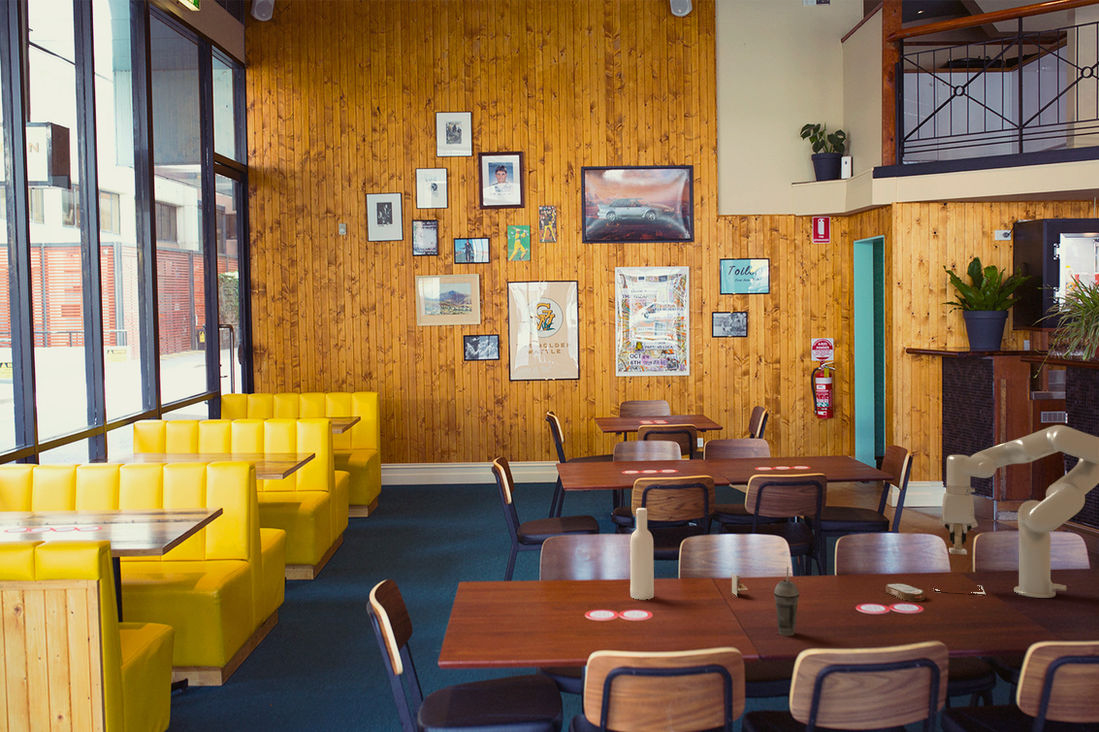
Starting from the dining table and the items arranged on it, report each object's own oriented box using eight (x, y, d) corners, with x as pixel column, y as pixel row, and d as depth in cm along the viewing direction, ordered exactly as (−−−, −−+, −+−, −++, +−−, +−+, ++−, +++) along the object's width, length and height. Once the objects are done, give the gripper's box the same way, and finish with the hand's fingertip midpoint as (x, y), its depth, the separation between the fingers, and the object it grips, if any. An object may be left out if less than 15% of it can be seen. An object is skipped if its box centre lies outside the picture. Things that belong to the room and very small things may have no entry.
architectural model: (741, 594, 322) (741, 572, 321) (747, 599, 315) (747, 577, 315) (731, 594, 321) (731, 573, 321) (737, 600, 314) (737, 578, 314)
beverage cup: (795, 629, 279) (795, 562, 279) (802, 637, 272) (802, 568, 271) (771, 629, 279) (770, 563, 278) (777, 637, 271) (777, 568, 271)
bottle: (645, 601, 311) (645, 511, 311) (625, 597, 316) (625, 509, 316) (658, 596, 318) (657, 508, 317) (638, 592, 323) (638, 506, 322)
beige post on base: (964, 552, 327) (964, 519, 328) (966, 554, 319) (966, 521, 320) (949, 551, 328) (949, 519, 329) (950, 553, 321) (950, 520, 322)
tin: (900, 589, 325) (880, 592, 323) (900, 580, 325) (879, 583, 323) (930, 600, 311) (908, 604, 308) (929, 590, 311) (908, 594, 308)
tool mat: (981, 587, 327) (981, 585, 327) (985, 595, 316) (985, 594, 316) (932, 583, 333) (932, 582, 333) (934, 592, 321) (934, 590, 321)
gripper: (982, 490, 325) (982, 543, 325) (932, 488, 330) (932, 540, 330) (985, 493, 318) (984, 547, 318) (933, 491, 323) (933, 544, 323)
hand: (957, 543), depth 324 cm, fingers closed on beige post on base
